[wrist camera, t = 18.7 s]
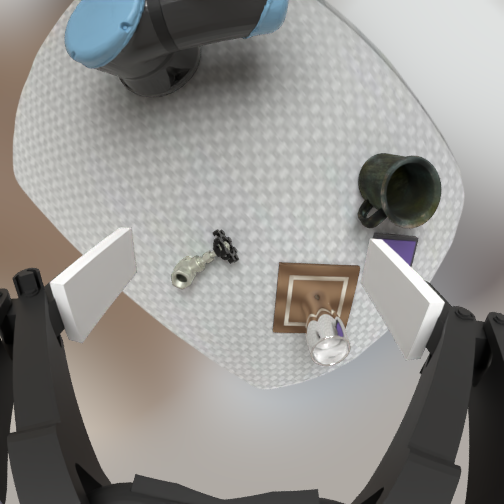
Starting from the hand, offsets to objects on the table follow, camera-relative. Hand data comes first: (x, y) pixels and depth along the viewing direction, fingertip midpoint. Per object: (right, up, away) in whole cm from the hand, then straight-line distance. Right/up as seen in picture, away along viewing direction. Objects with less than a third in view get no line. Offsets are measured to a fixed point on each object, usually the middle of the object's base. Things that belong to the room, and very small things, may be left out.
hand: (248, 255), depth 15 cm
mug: (+23, +12, +32) cm, 41 cm away
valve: (-9, 0, +38) cm, 39 cm away
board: (+13, -9, +41) cm, 44 cm away
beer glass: (+13, -10, +40) cm, 44 cm away
